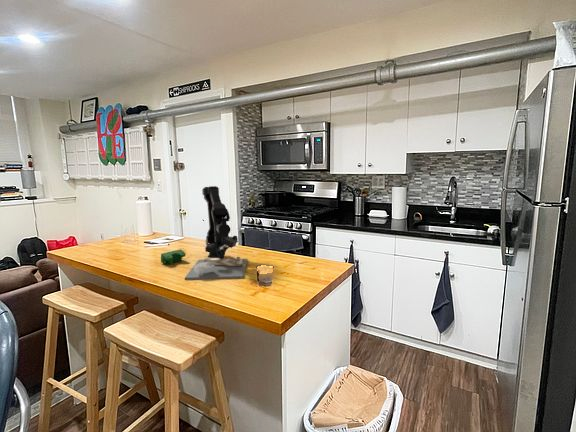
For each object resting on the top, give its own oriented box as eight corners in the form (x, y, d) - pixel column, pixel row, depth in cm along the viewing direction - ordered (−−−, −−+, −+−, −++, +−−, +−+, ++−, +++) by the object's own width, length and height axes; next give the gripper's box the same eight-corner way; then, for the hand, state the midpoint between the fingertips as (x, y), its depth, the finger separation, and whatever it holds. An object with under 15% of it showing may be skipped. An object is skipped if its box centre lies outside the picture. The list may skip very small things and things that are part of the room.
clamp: (169, 272, 164) (163, 260, 158) (163, 268, 167) (158, 255, 162) (189, 260, 170) (184, 247, 165) (183, 255, 174) (178, 243, 169)
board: (198, 261, 168) (198, 259, 168) (247, 260, 170) (247, 258, 170) (184, 279, 141) (184, 277, 141) (243, 278, 142) (242, 276, 142)
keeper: (208, 271, 151) (208, 261, 150) (214, 275, 146) (214, 264, 145) (193, 275, 147) (192, 264, 146) (199, 279, 141) (198, 268, 140)
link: (243, 264, 159) (243, 256, 158) (240, 266, 155) (240, 258, 154) (207, 262, 163) (206, 254, 162) (203, 264, 159) (203, 256, 158)
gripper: (223, 237, 147) (224, 268, 150) (243, 229, 164) (244, 257, 167) (203, 235, 152) (205, 266, 154) (225, 227, 169) (227, 255, 171)
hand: (221, 261), depth 162 cm, fingers closed
